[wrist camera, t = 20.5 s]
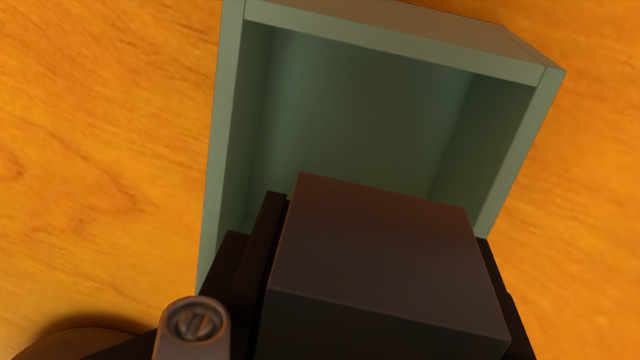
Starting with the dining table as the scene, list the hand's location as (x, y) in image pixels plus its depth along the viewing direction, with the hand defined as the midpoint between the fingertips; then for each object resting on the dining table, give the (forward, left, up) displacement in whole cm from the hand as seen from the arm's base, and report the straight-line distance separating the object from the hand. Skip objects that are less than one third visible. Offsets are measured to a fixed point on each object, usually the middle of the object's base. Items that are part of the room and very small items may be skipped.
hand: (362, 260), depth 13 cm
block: (0, 0, 0) cm, 0 cm away
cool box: (+2, +2, -16) cm, 16 cm away
